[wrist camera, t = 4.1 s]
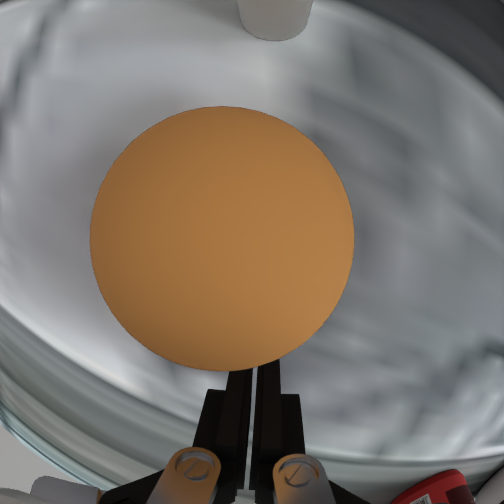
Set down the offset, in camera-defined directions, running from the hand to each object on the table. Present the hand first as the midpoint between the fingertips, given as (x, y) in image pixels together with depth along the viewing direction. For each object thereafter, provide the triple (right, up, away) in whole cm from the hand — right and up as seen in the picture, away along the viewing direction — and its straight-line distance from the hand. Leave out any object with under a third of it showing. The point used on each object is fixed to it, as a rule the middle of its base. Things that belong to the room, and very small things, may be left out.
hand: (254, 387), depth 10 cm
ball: (-1, +5, -3) cm, 6 cm away
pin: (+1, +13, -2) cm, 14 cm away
